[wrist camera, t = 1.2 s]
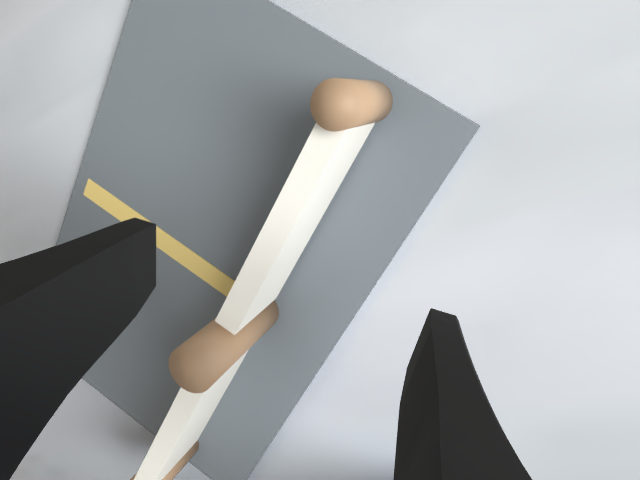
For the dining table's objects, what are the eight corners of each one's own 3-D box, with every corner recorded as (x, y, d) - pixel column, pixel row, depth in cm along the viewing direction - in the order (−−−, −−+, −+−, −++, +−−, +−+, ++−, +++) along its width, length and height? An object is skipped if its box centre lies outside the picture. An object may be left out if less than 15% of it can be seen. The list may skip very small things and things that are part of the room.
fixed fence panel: (252, 282, 25) (179, 336, 19) (285, 305, 24) (221, 367, 19) (168, 439, 30) (92, 518, 24) (195, 460, 29) (124, 544, 24)
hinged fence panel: (281, 301, 24) (230, 348, 20) (254, 282, 24) (197, 324, 20) (400, 93, 20) (368, 94, 15) (365, 72, 20) (324, 68, 15)
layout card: (480, 125, 20) (479, 126, 19) (237, 492, 29) (234, 498, 29) (159, -65, 22) (152, -68, 22) (33, 332, 32) (27, 336, 31)
